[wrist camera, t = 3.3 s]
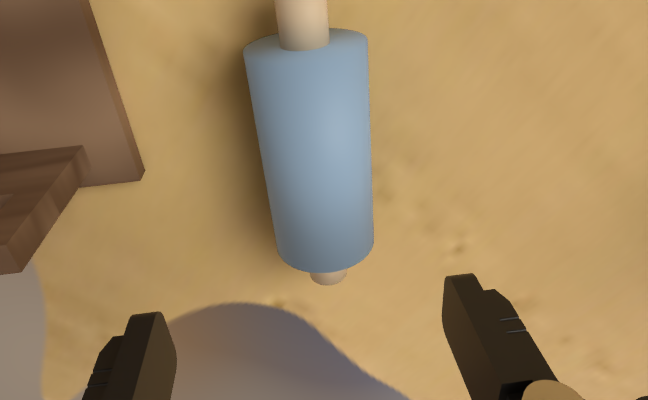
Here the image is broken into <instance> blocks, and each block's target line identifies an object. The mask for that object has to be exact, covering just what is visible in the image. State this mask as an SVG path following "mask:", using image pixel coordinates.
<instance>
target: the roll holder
mask: <svg viewBox="0 0 648 400" xmlns="http://www.w3.org/2000/svg"><path fill="white" fill-rule="evenodd" d="M144 172H145V169H144V166H143V163H142V160H141V157H140V154H139V151H138V148H137V145H136V142H135V139H134V136H133V133H132V130H131V127H130V124H129V121H128V118H127V115H126V112H125V109H124V106H123V103H122V100H121V97H120V94H119V91H118V88H117V85H116V82H115V79H114V76H113V73H112V70H111V67H110V64H109V61H108V58H107V55H106V52H105V49H104V46H103V42H102V39H101V36H100V33H99V30H98V27H97V24H96V21H95V18H94V15H93V12H92V9H91V6H90V3H89V0H0V275H3V274H11V273H19V272H22V271H23V269H24V268H25V266H26V265H27V263H28V262H29V260H30V259H31V257H32V256H33V254H34V253H35V251H36V250H37V248H38V247H39V245H40V244H41V242H42V241H43V240H44V238H45V237H46V235H47V234H48V232H49V231H50V229H51V228H52V226H53V225H54V223H55V222H56V220H57V219H58V217H59V216H60V214H61V213H62V211H63V210H64V208H65V207H66V205H67V204H68V202H69V201H70V199H71V198H72V196H73V195H74V194H75V192H76V191H77V189H78V188H81V187H90V186H98V185H107V184H115V183H124V182H133V181H140V180H141V178H142V176H143V174H144Z"/></svg>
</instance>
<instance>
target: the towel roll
mask: <svg viewBox="0 0 648 400" xmlns="http://www.w3.org/2000/svg"><path fill="white" fill-rule="evenodd" d="M274 3H275V10H276V18H277V26H278V34H273V35H270V36H266V37H263V38H260V39H258V40H255V41H253V42H251V43H250V44H248V45H247V46H246V47H245V48H244V49H243V56H244V61H245V67H246V73H247V78H248V84H249V90H250V96H251V101H252V107H253V113H254V118H255V124H256V130H257V136H258V141H259V147H260V153H261V158H262V164H263V170H264V176H265V181H266V187H267V193H268V198H269V204H270V210H271V216H272V221H273V227H274V233H275V238H276V244H277V250H278V253H279V255H280V257H281V258H282V259H283V261H284V262H286V263H287V264H288V265H290V266H292V267H293V268H296V269H298V270H301V271H305V272H310V276H311V278H312V280H313V281H314V282H316V283H318V284H321V285H334V284H337V283H339V282H341V281H342V280H343V279H344V278H345V277H346V274H347V268H349V267H352V266H354V265H356V264H357V263H359V262H360V261H362V260H363V259H364V258H365V257H366V256H367V255H368V254H369V252H370V251H371V249H372V247H373V243H374V230H373V199H372V167H371V136H370V104H369V73H368V41H367V37H366V36H365V35H363V34H362V33H359V32H356V31H352V30H346V29H337V28H329V24H328V11H327V0H274Z"/></svg>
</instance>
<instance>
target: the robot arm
mask: <svg viewBox="0 0 648 400" xmlns="http://www.w3.org/2000/svg"><path fill="white" fill-rule="evenodd" d="M442 323H443V328H444V332H445V335H446V338H447V341H448V343H449V345H450V348H451V350H452V353H453V355H454V358H455V360H456V363H457V365H458V367H459V370H460V372H461V375H462V377H463V380H464V382H465V384H466V387H467V389H468V392H469V394H470V397H471V399H472V400H584V399H583V398H582V397H581V396H580V395H579V394H578V393H577V392H576V391H575V390H573V389H572V388H570V387H569V386H567V385H565V384H563V383H560V382H559V381H558V380H557V378H556V377H555V375H554V374H553V372H552V370H551V369H550V367H549V365H548V364H547V362H546V360H545V359H544V357H543V356H542V354H541V352H540V351H539V349H538V347H537V346H536V344H535V342H534V341H533V339H532V337H531V336H530V334H529V332H527V331H526V327H525V326H524V324H523V323H522V321H521V319H519V316H518V314H517V313H516V311H515V309H514V308H513V306H512V304H511V303H510V301H509V300H507V299H506V298H505V297H504V296H502V295H501V294H500V293H499V292H497V291H496V290H495V289H491V290H484V291H483V289H482V287H481V285H480V283H479V282H478V280H477V278H476V276H475V275H474V274H473V273H469V274H461V275H453V276H446V278H445V282H444V294H443V306H442ZM176 365H177V358H176V350H175V347H174V344H173V341H172V338H171V335H170V333H169V330H168V327H167V324H166V322H165V319H164V316H163V314H162V313H161V312H151V313H143V314H135V315H132V316H131V317H130V319H129V321H128V324H127V327H126V330H125V333H124V335H123V336H115V337H112V339H111V340H110V341H109V342H108V343H107V345H106V346H105V347H104V348H103V349H102V351H101V352H100V353H99V356H98V358H97V361H96V364H95V366H94V369H93V374H91V377H90V379H89V382H88V388H87V389H86V390H85V393H84V395H83V398H82V400H170V398H171V393H172V388H173V383H174V378H175V373H176ZM636 400H648V396H644V397H640V398H638V399H636Z"/></svg>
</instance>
